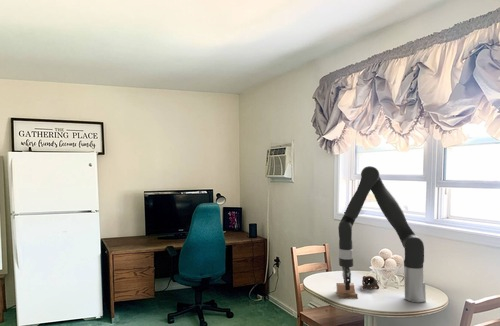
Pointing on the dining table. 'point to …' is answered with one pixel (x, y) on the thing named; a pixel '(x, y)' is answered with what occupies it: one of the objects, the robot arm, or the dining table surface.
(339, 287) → the light brown block
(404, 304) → the dining table surface
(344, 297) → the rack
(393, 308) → the dining table surface
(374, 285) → the dark brown rounded lump
